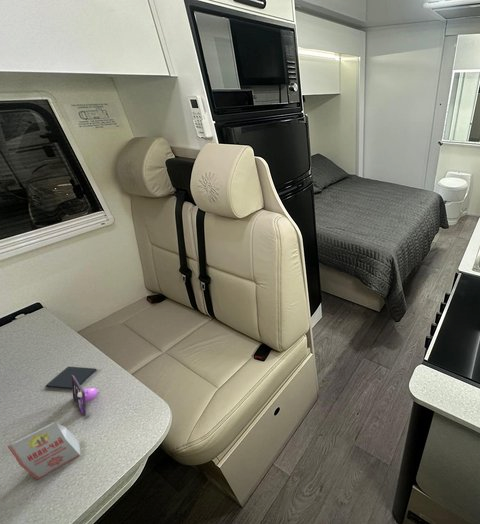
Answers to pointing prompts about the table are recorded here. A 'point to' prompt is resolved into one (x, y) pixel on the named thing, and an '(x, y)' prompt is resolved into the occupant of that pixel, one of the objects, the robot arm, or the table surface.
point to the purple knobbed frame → (82, 394)
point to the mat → (66, 377)
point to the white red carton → (45, 450)
